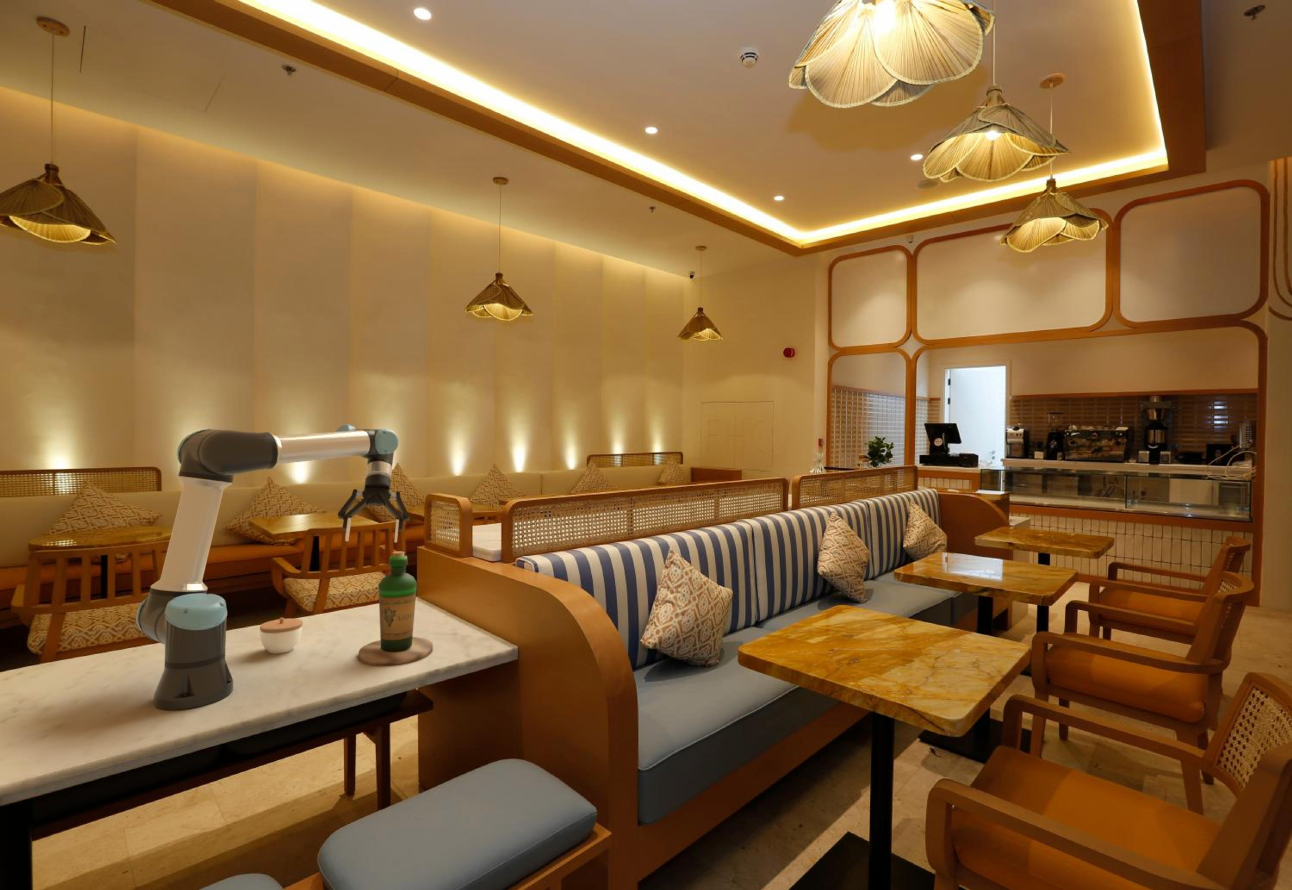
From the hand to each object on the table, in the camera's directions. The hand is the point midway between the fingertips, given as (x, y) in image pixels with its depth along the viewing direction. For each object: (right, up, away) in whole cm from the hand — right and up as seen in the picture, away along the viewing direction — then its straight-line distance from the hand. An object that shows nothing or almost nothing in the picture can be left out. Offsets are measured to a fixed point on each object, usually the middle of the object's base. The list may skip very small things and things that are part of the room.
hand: (371, 540), depth 182 cm
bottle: (+10, -31, -6) cm, 33 cm away
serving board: (+10, -32, -6) cm, 34 cm away
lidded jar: (-24, -31, -6) cm, 40 cm away
